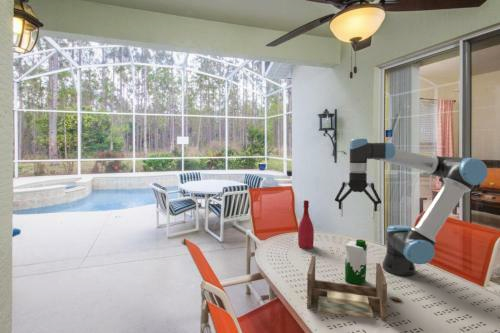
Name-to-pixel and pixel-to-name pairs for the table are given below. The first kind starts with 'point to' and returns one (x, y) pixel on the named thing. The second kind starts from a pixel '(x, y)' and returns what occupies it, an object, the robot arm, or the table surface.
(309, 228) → the wine bottle
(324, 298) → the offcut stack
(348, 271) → the soya milk
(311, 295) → the walnut rack
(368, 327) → the table surface
